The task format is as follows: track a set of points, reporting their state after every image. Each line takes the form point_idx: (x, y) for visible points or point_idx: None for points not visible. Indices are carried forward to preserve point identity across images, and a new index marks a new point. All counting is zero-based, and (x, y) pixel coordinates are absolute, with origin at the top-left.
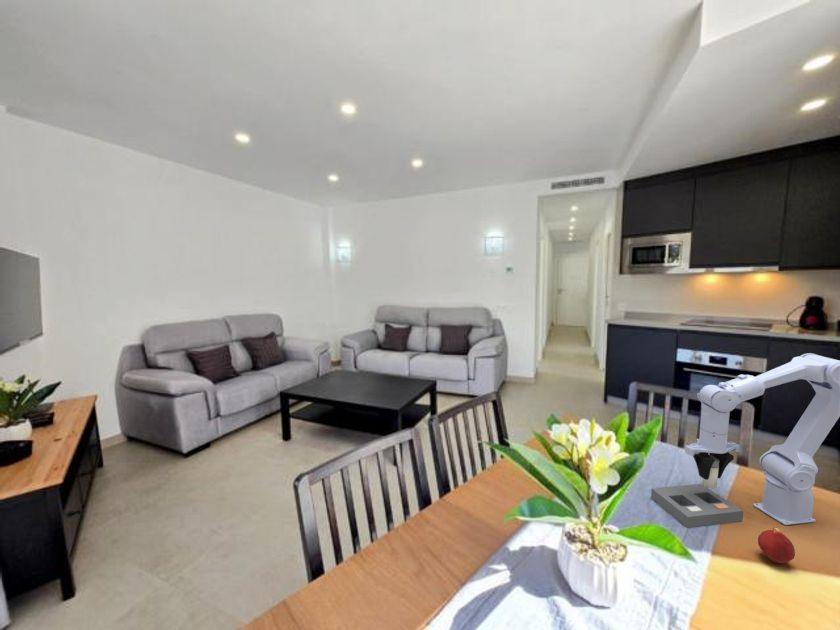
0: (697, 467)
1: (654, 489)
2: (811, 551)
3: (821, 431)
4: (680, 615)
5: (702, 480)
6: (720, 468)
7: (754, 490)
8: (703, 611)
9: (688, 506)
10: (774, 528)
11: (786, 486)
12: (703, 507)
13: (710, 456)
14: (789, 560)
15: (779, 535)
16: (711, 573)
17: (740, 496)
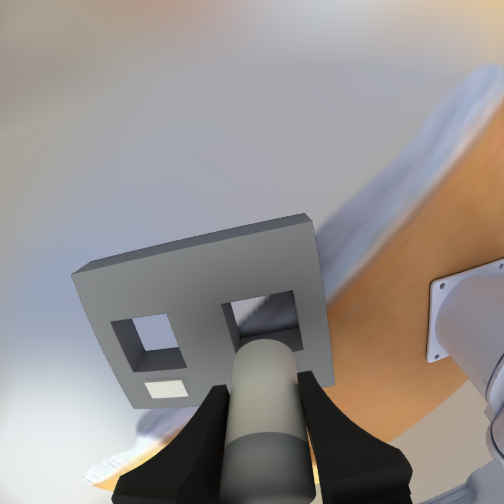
0: (194, 415)
1: (77, 281)
2: (388, 424)
3: None
4: (84, 480)
5: (232, 373)
6: (314, 454)
7: (496, 193)
8: (109, 485)
9: (155, 373)
10: None
11: (490, 420)
12: (205, 379)
13: (277, 488)
14: None
15: None
16: (141, 464)
17: (437, 228)
